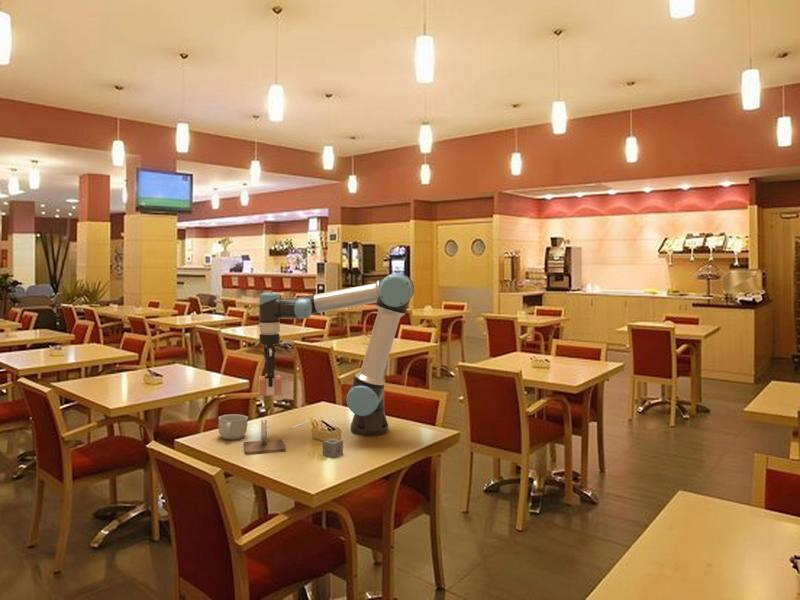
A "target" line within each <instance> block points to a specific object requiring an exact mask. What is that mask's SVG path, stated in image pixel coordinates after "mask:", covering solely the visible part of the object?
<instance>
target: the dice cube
mask: <svg viewBox="0 0 800 600" xmlns="http://www.w3.org/2000/svg"><path fill="white" fill-rule="evenodd" d="M342 455H344V440H343V439H342V440H341V439H338V438H333V437H331V438H329V439H325V440H322V456H323V457H328V458H331V459H335V458H338V457H339V456H340V457H341V456H342Z"/></svg>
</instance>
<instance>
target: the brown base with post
mask: <svg viewBox="0 0 800 600" xmlns="http://www.w3.org/2000/svg"><path fill="white" fill-rule="evenodd" d="M260 426H261V427H260V428H261V429H260V431H261V432H260V433H261V435H260V436H261V440H254V441H253V440H252V441H251V440H250V441H243V451H244V455H245V456H249V455H260V454H270V453H271V454H272V453H282V452H286V451H287V450H286V449H287V447H286V446H285V443H284V440H283V439H282V438H276V439H268V420H266V419H261V421H260Z"/></svg>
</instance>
